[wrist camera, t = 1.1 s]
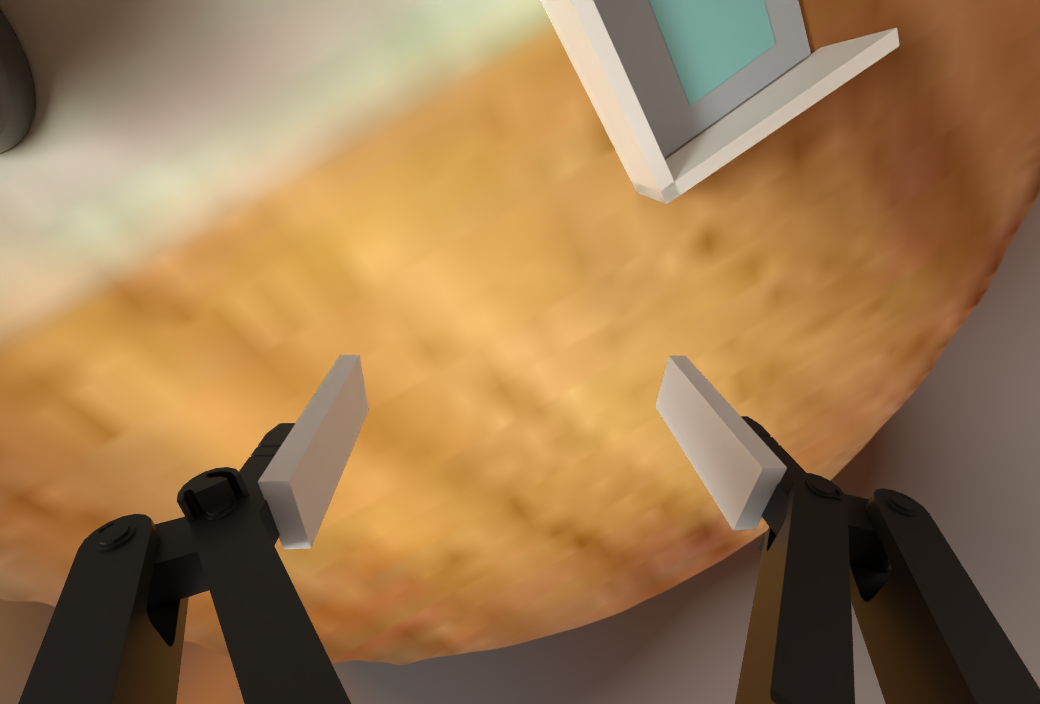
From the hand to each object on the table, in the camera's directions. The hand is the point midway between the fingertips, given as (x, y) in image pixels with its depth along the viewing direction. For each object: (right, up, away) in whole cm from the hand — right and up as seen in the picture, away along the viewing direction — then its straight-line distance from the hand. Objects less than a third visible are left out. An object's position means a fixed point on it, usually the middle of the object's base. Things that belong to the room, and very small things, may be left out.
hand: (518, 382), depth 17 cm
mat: (+13, +28, +14) cm, 34 cm away
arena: (+13, +27, +14) cm, 34 cm away
